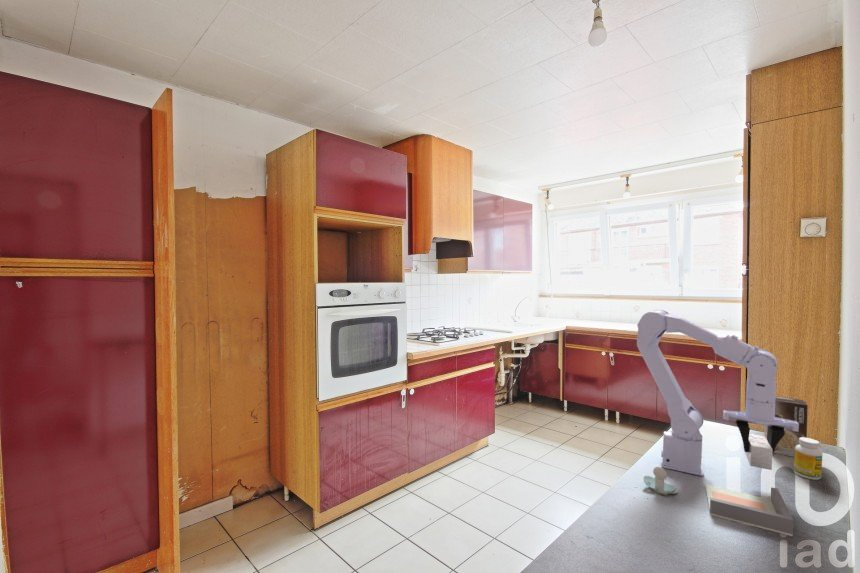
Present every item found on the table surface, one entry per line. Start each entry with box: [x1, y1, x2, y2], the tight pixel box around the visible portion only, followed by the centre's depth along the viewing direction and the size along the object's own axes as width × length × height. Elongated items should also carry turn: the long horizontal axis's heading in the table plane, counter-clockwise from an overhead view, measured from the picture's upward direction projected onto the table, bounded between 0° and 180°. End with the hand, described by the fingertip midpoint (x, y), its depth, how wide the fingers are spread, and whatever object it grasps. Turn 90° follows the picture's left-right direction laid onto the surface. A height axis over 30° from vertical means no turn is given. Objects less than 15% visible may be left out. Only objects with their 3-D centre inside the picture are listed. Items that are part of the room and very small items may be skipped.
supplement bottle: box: [793, 437, 823, 481], centre depth 108 cm, size 5×5×10 cm
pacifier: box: [643, 466, 678, 495], centre depth 100 cm, size 7×6×6 cm
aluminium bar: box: [743, 433, 773, 471], centre depth 102 cm, size 9×4×5 cm, turn 150°
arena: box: [704, 484, 794, 537], centre depth 93 cm, size 14×14×3 cm
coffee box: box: [763, 395, 809, 458], centre depth 122 cm, size 9×6×16 cm
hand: (757, 452), depth 102 cm, fingers closed on aluminium bar, 4 cm apart
